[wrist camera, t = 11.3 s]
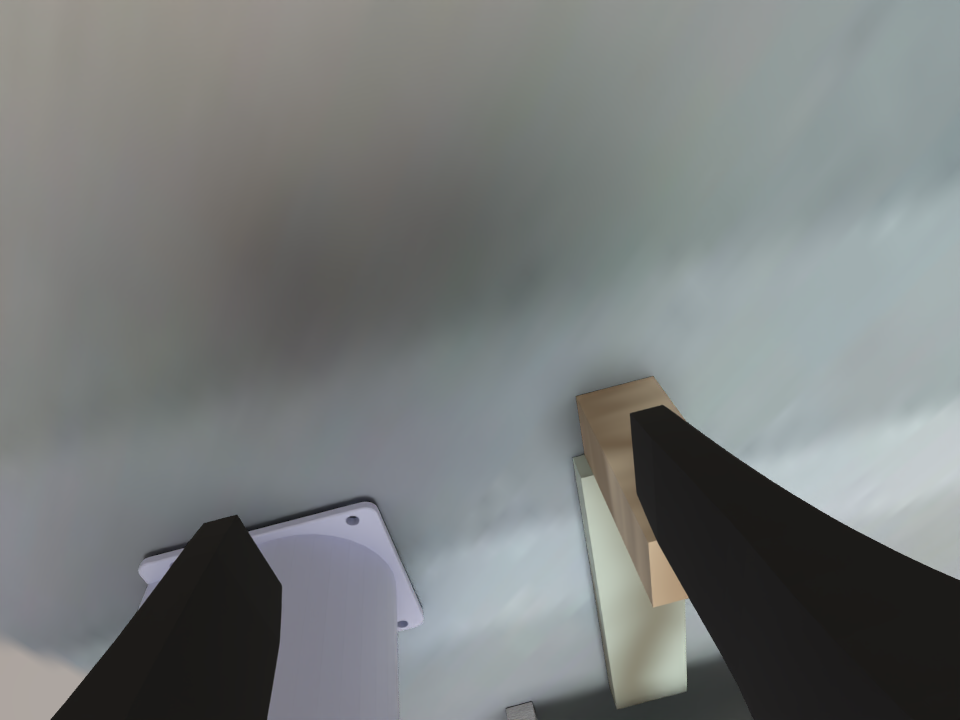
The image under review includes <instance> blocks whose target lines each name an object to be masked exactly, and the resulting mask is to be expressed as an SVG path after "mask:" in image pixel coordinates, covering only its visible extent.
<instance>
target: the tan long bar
mask: <svg viewBox="0 0 960 720" xmlns="http://www.w3.org/2000/svg"><path fill="white" fill-rule="evenodd" d="M576 400H577V407H578V414H579V421H580V428H581V434H582V441H583V448H584V455H581V456H578V457H574V458H573V464H574V470H575V477H576V483H577V489H578V495H579V501H580V507H581V513H582V520H583V526H584V532H585V538H586V544H587V550H588V557H589V563H590V569H591V575H592V581H593V587H594V594H595V600H596V606H597V612H598V618H599V624H600V631H601V637H602V643H603V649H604V655H605V661H606V667H607V674H608V680H609V686H610V690H611V693H612V696H613V699H614V702H615V705H616V708H617V710H618V709H622V708H625V707H629V706H633V705H637V704H641V703H644V702H648V701H652V700H656V699H660V698H663V697H667V696H671V695H675V694H679V693H682V692H686V691H687V669H686V626H685V599H688V598H689V597H688V596H687V594H686V592H685V590H684V589H683V587H682V585H681V583H680V582H679V580H678V578H677V576H676V575H675V573H674V571H673V569H672V568H671V566H670V564H669V562H668V561H667V559H666V557H665V555H664V553H663V552H662V550H661V548H660V546H659V544H658V543H657V540H656V538H655V536H654V533H653V531H652V529H651V527H650V524H649V522H648V520H647V517H646V515H645V513H644V510H643V508H642V505H641V503H640V501H639V498H638V496H637V493H636V483H635V471H634V459H633V447H632V436H631V424H630V413H632V412H636V411H640V410H644V409H648V408H652V407H656V406H660V405H664V406H666V407H667V408H669V409H670V410H671V411H673V412H674V413H676V414H677V415H678V416H680V417H681V418H682V419H684V418H683V416H682V415H681V414H680V412H679V411H678V410H677V408H676V407H675V405H674V404H673V403H672V401H671V400H670V399H669V397H668V396H667V394H666V393H665V392H664V390H663V389H662V388H661V386H660V385H659V383H658V382H657V381H656V379H655V378H654V377H653V376H652V377H648V378H644V379H641V380H637V381H633V382H629V383H625V384H621V385H617V386H613V387H610V388H606V389H602V390H598V391H594V392H590V393H586V394H582V395H578V396H576ZM684 420H685V419H684Z"/></svg>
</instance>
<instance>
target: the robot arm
mask: <svg viewBox="0 0 960 720" xmlns="http://www.w3.org/2000/svg"><path fill="white" fill-rule="evenodd" d="M630 424H631V436H632V447H633V459H634V471H635V483H636V493H637V496H638V498H639V501H640V503H641V505H642V508H643V510H644V513H645V515H646V517H647V520H648V522H649V524H650V527H651V529H652V531H653V533H654V536H655V538H656V540H657V543H658V544H659V546H660V548H661V550H662V552H663V553H664V555H665V557H666V559H667V561H668V562H669V564H670V566H671V568H672V569H673V571H674V573H675V575H676V576H677V578H678V580H679V582H680V583H681V585H682V587H683V589H684V590H685V592H686V594H687V596H688V597H689V599H690V601H691V603H692V604H693V606H694V608H695V609H696V611H697V613H698V615H699V616H700V618H701V620H702V622H703V623H704V625H705V627H706V629H707V630H708V632H709V634H710V636H711V637H712V639H713V641H714V642H715V644H716V646H717V648H718V649H719V651H720V653H721V655H722V656H723V658H724V660H725V662H726V664H727V666H728V668H729V670H730V671H731V673H732V675H733V677H734V679H735V681H736V683H737V685H738V687H739V689H740V691H741V693H742V696H743V698H744V700H745V702H746V704H747V706H748V709H749V711H750V713H751V715H752V717H753V719H754V720H960V580H958V579H955V578H953V577H951V576H949V575H946V574H944V573H942V572H939V571H937V570H935V569H933V568H930V567H928V566H926V565H924V564H922V563H920V562H918V561H915V560H913V559H911V558H909V557H907V556H905V555H903V554H901V553H899V552H897V551H895V550H893V549H891V548H889V547H887V546H885V545H883V544H881V543H879V542H877V541H875V540H873V539H871V538H869V537H867V536H865V535H864V534H862V533H860V532H858V531H856V530H854V529H852V528H850V527H848V526H847V525H845V524H843V523H841V522H839V521H837V520H836V519H834V518H832V517H830V516H829V515H827V514H825V513H823V512H822V511H820V510H818V509H817V508H815V507H813V506H812V505H810V504H808V503H807V502H805V501H803V500H802V499H800V498H798V497H797V496H795V495H793V494H792V493H790V492H788V491H787V490H785V489H784V488H782V487H780V486H779V485H777V484H776V483H774V482H773V481H771V480H769V479H768V478H766V477H765V476H763V475H762V474H760V473H759V472H757V471H756V470H754V469H753V468H751V467H750V466H748V465H747V464H745V463H744V462H742V461H741V460H739V459H738V458H736V457H735V456H734V455H732V454H731V453H729V452H728V451H726V450H725V449H724V448H722V447H721V446H719V445H718V444H717V443H715V442H714V441H712V440H711V439H710V438H708V437H707V436H705V435H704V434H703V433H701V432H700V431H699V430H697V429H696V428H694V427H693V426H692V425H690V424H689V423H688V422H686V421H685V420H684V419H682V418H681V417H680V416H678V415H677V414H676V413H674V412H673V411H671V410H670V409H669V408H667V407H666V406H664V405H660V406H656V407H652V408H648V409H644V410H640V411H636V412H632V413H630ZM350 516H356V518H350ZM138 573H139V575H140V576H141V577H142V578H143V580H144V581H145V582H146V583H147V584H148V586H147V588H146V591H145V593H144V596H143V598H142V601H141V603H140V606H139V608H138V611H137V612H136V614H135V615H134V616H133V618H132V619H131V620H130V622H129V623H128V624H127V626H126V627H125V628H124V630H123V631H122V632H121V634H120V635H119V636H118V638H117V639H116V640H115V641H114V643H113V644H112V645H111V646H110V648H109V649H108V650H107V651H106V653H105V654H104V655H103V656H102V657H101V659H100V660H99V661H98V662H97V664H96V665H95V666H94V667H93V669H92V670H91V671H90V672H89V674H88V675H87V676H86V677H85V678H84V680H83V681H82V682H81V683H80V685H79V686H78V687H77V688H76V690H75V691H74V692H73V693H72V695H71V696H70V697H69V698H68V700H67V701H66V702H65V703H64V704H63V706H62V707H61V708H60V709H59V710H58V711H57V713H56V714H55V715H54V716H53V717H52V718H51V720H400V715H399V673H398V632H399V631H403V630H406V629H410V628H414V627H417V626H419V625H421V624H422V623H423V621H424V614H423V610H422V608H421V605H420V603H419V601H418V599H417V596H416V594H415V592H414V589H413V587H412V585H411V583H410V580H409V578H408V576H407V573H406V571H405V569H404V567H403V564H402V562H401V560H400V558H399V555H398V553H397V551H396V548H395V546H394V544H393V542H392V539H391V537H390V535H389V532H388V530H387V528H386V526H385V523H384V521H383V519H382V517H381V514H380V512H379V510H378V508H377V506H376V505H375V504H373V503H371V502H360V503H356V504H352V505H349V506H345V507H341V508H337V509H333V510H329V511H325V512H322V513H318V514H314V515H310V516H306V517H302V518H298V519H294V520H291V521H287V522H283V523H279V524H275V525H271V526H267V527H264V528H260V529H256V530H252V531H247V529H246V528H245V526H244V525H243V523H242V521H241V520H240V518H239V517H238V515H234V516H230V517H226V518H222V519H219V520H215V521H211V522H207V523H204V524H203V525H202V526H201V528H200V529H199V530H198V531H197V532H196V534H195V535H194V536H193V538H192V539H191V540H190V541H189V543H188V544H187V545H186V547H185V548H182V549H179V550H175V551H171V552H167V553H163V554H159V555H155V556H152V557H148V558H146V559H144V560H143V561H142V562H141V564H140V566H139V569H138Z"/></svg>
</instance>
